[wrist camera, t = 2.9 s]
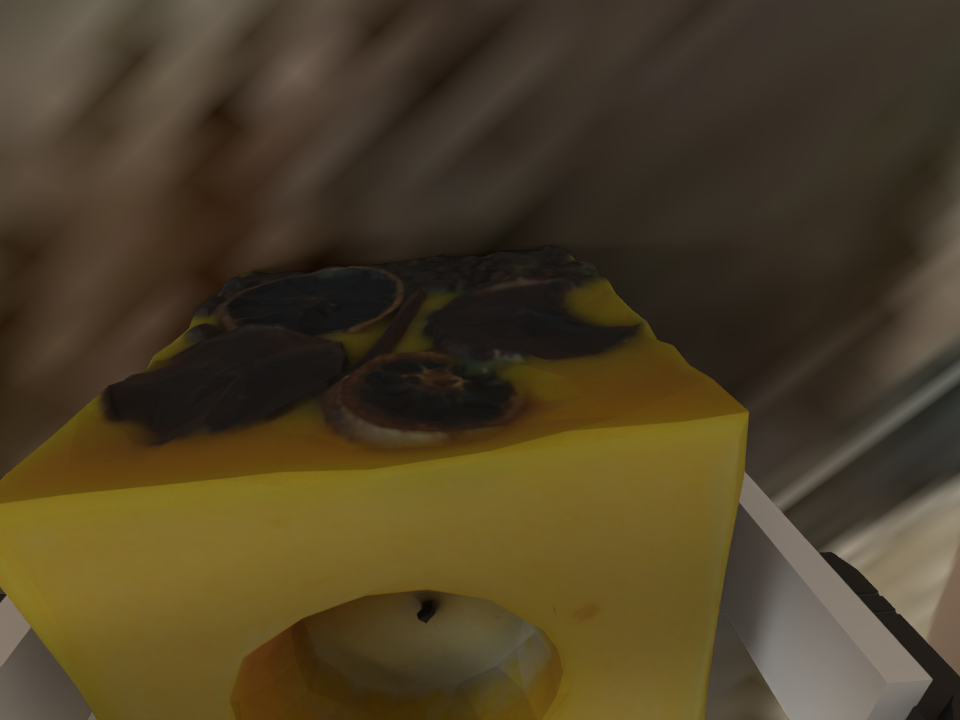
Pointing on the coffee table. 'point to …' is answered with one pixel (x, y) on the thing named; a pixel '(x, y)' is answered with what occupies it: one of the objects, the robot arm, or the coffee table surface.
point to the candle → (389, 506)
